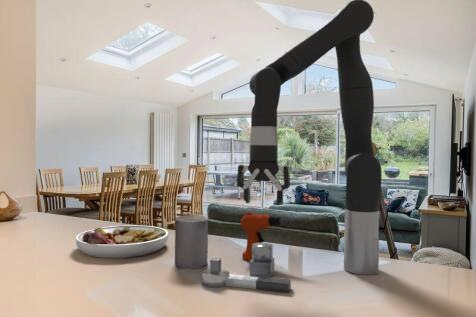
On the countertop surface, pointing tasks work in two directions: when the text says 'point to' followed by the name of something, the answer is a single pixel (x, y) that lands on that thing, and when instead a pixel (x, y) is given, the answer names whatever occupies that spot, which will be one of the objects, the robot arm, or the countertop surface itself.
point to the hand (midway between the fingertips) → (262, 203)
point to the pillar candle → (191, 241)
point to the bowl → (121, 241)
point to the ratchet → (241, 279)
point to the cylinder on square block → (262, 260)
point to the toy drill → (257, 229)
